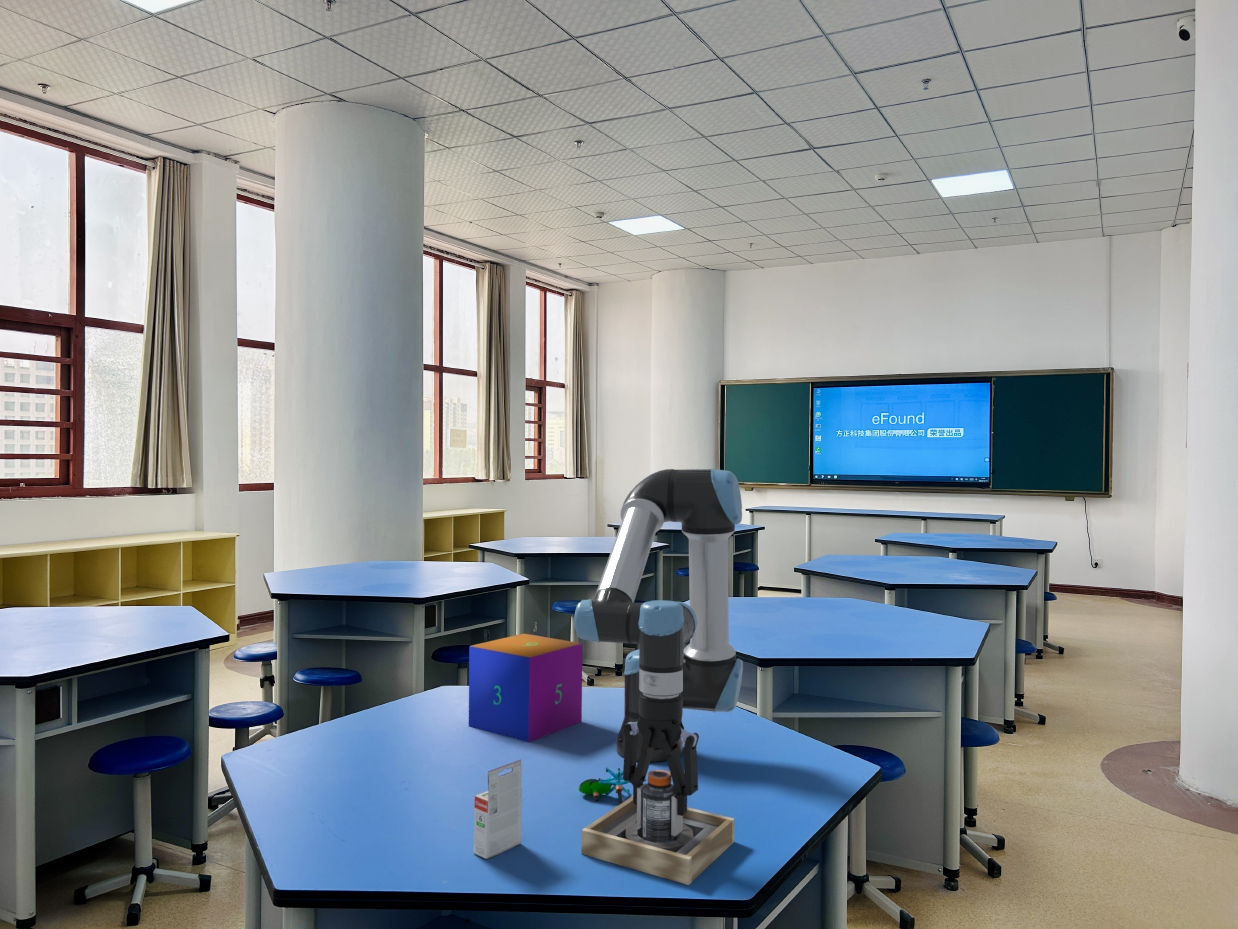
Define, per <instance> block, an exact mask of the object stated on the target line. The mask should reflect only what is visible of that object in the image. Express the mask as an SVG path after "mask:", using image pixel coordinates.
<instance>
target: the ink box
mask: <svg viewBox="0 0 1238 929" xmlns="http://www.w3.org/2000/svg"><path fill="white" fill-rule="evenodd" d="M522 767H523V766H522V759H519V760H516V761H513V762H510V763H507V764H505V765H502V766H500V767H496V768H494V769H492V770H488V771H487V790H486V791H484V792H481V793H478V794H476V795H474V806H473V807H474V808H473V810H474V811H473V812H474V813H473V818H474V819H473V854H475V855H476V856H478V857H481V858H483V859H485V860H488V859H490V858H493V857H495V856H498V855H500V854H502V853H504V852H506V851H508V850H510V849H513V848H515V847H516V846H518V845H520V844H522V830H523V829H522V816H523V815H522V810H523V809H522V808H523V805H522V804H523V801H522V800H523V798H522V796H523V789H522V782H523V781H522V780H523V779H522V776H523V775H522V773H523V772H522V770H523V768H522ZM505 769H506V770H510V769H511V771H510V772H507V773H505V774H502V775H499V774H500V773H502V772H504V770H505Z"/></svg>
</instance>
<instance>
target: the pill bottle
mask: <svg viewBox="0 0 1238 929" xmlns="http://www.w3.org/2000/svg"><path fill="white" fill-rule="evenodd" d="M672 782H673V781H672V777H671V773H670V771H667V770H665V769H664V770H663V769H655V770H651V771H649V772H647V783H645V784H646V785H645V786H644V787H643V790H642V838H643V840H646V841H650V842H653V843H668V842H672V841H676V839H677V835H676V836H672V835H671V809H672V796H673V795H674V794H676V793H675V789H674V785H673V783H672Z"/></svg>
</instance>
